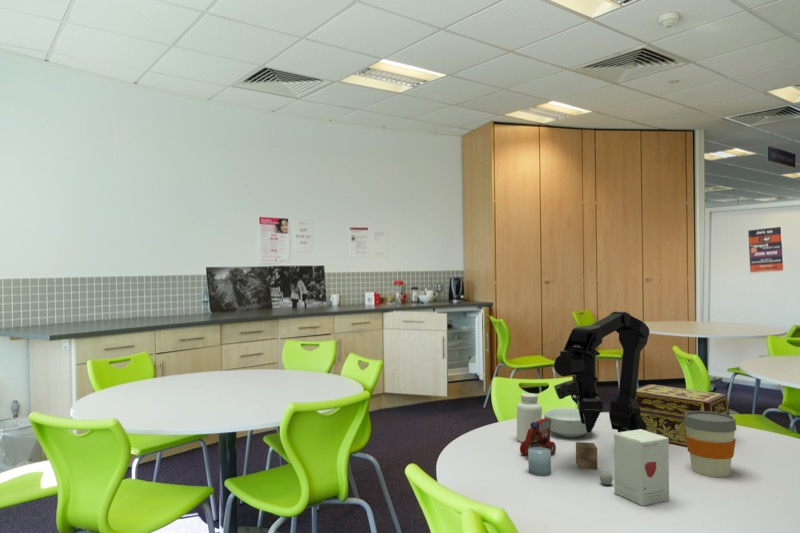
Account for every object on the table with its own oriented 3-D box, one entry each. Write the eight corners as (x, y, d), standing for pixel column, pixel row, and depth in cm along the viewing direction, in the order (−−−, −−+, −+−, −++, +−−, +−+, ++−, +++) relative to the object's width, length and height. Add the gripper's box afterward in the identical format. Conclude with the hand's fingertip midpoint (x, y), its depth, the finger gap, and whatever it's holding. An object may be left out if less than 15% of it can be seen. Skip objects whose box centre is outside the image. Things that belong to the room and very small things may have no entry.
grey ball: (612, 482, 145) (612, 470, 145) (612, 487, 142) (612, 474, 142) (599, 481, 146) (599, 469, 146) (599, 485, 143) (599, 473, 143)
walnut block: (594, 463, 160) (593, 442, 160) (597, 469, 155) (597, 448, 155) (576, 463, 161) (575, 442, 161) (578, 469, 156) (578, 447, 156)
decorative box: (624, 435, 190) (623, 390, 190) (648, 424, 202) (647, 383, 202) (712, 453, 169) (711, 403, 170) (733, 440, 182) (732, 394, 182)
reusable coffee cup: (731, 466, 157) (730, 412, 157) (742, 481, 145) (741, 423, 146) (681, 461, 161) (680, 409, 162) (688, 476, 149) (687, 419, 150)
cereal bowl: (554, 425, 202) (554, 405, 202) (602, 432, 192) (601, 411, 193) (536, 436, 188) (536, 415, 189) (586, 444, 179) (586, 422, 179)
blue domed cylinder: (551, 469, 156) (551, 448, 156) (550, 477, 150) (549, 454, 150) (529, 467, 158) (529, 446, 158) (527, 474, 152) (527, 452, 152)
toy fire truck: (515, 457, 167) (515, 421, 167) (539, 448, 175) (538, 414, 176) (536, 462, 162) (535, 426, 162) (559, 453, 170) (558, 418, 170)
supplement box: (642, 507, 130) (641, 442, 130) (613, 493, 138) (612, 432, 139) (670, 500, 134) (669, 437, 134) (641, 487, 142) (640, 428, 142)
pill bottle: (542, 445, 178) (542, 397, 179) (516, 443, 180) (516, 396, 180) (541, 438, 186) (541, 392, 186) (516, 436, 188) (516, 391, 188)
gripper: (552, 366, 169) (553, 418, 169) (559, 377, 151) (560, 436, 151) (590, 367, 168) (591, 419, 167) (603, 378, 149) (604, 437, 149)
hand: (586, 427), depth 159 cm, fingers open, 9 cm apart
